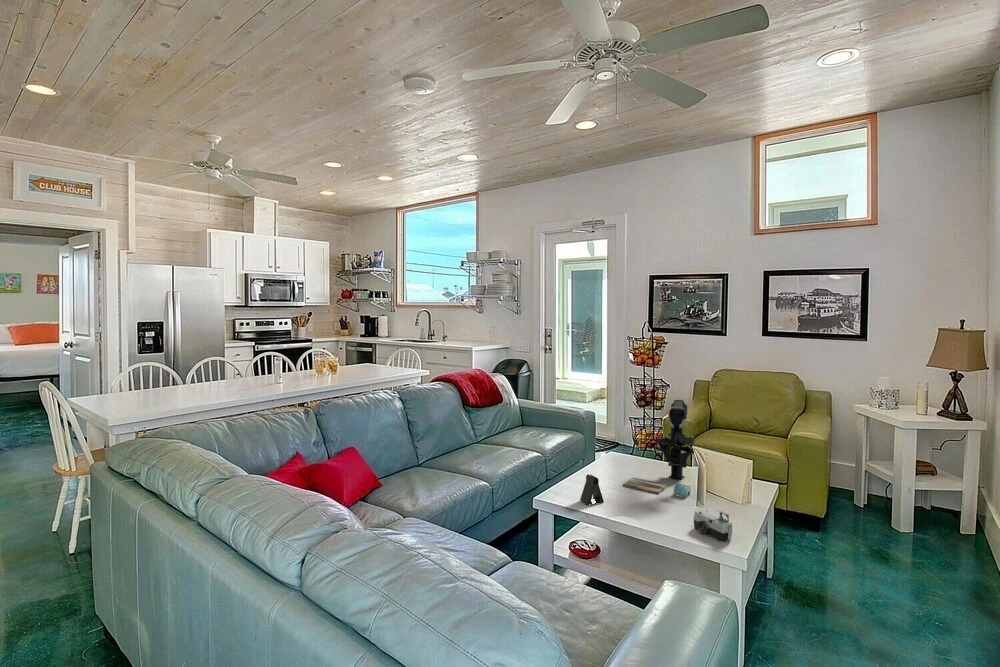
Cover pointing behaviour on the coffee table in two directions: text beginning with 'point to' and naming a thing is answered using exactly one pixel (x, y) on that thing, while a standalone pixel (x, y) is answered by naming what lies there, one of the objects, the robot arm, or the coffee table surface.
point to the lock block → (682, 490)
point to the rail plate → (645, 485)
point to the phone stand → (591, 490)
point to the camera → (713, 525)
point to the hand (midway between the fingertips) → (675, 463)
